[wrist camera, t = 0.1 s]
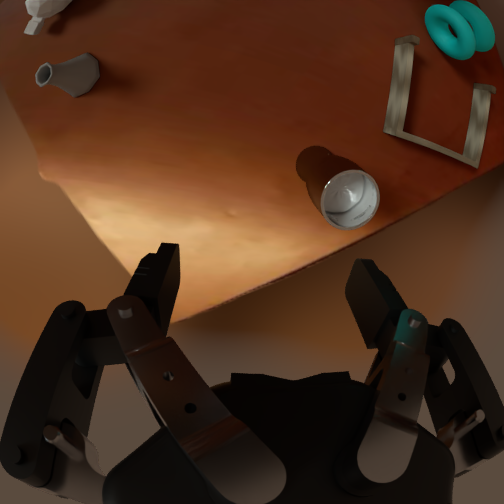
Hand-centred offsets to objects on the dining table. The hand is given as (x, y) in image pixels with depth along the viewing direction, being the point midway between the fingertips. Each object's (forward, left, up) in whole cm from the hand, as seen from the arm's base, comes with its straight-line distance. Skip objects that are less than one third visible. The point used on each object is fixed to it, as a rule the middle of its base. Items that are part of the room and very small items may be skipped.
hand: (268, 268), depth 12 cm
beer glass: (+1, +10, -29) cm, 31 cm away
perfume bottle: (-28, -35, -30) cm, 54 cm away
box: (-14, +30, -29) cm, 44 cm away
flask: (-12, -27, -30) cm, 42 cm away
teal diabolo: (-30, +30, -30) cm, 52 cm away
